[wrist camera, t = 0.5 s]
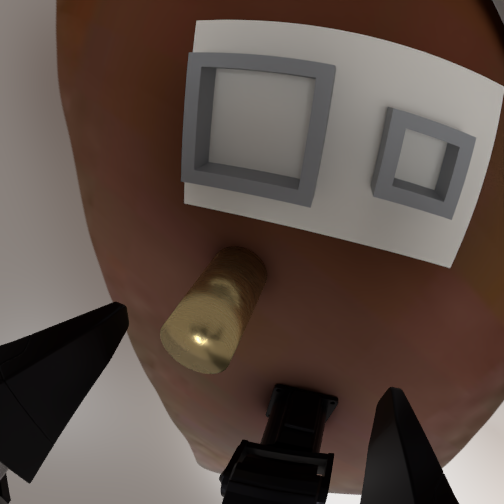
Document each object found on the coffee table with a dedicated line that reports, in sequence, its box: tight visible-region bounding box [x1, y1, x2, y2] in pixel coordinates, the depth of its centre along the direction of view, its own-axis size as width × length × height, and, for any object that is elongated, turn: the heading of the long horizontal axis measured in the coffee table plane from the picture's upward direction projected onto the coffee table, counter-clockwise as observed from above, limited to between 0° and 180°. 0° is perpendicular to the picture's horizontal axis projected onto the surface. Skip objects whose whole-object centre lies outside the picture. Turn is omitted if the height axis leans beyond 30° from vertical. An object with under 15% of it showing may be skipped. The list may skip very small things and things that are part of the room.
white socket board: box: [181, 20, 504, 268], centre depth 15 cm, size 12×18×3 cm, turn 84°
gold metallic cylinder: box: [160, 247, 267, 374], centre depth 20 cm, size 4×4×8 cm
